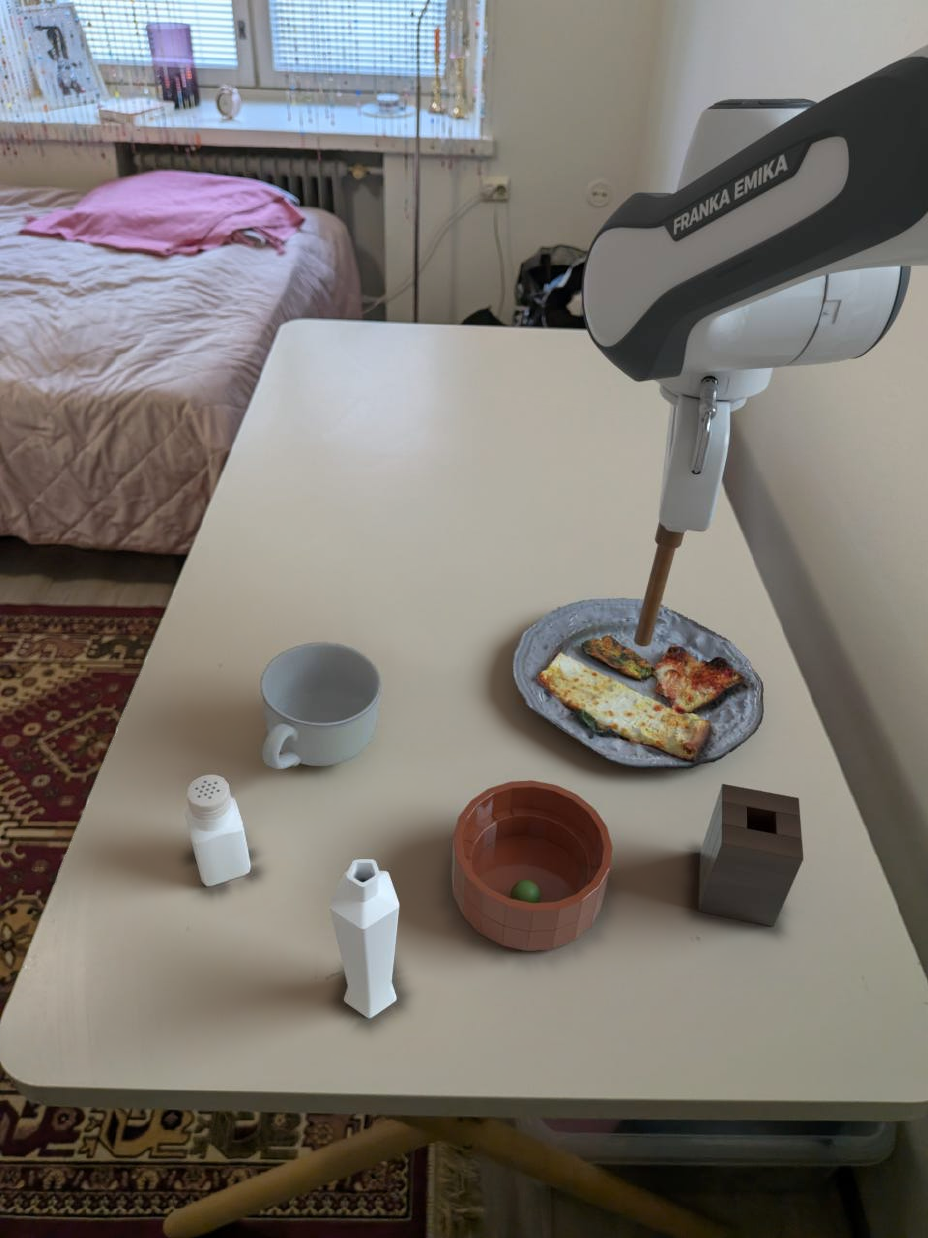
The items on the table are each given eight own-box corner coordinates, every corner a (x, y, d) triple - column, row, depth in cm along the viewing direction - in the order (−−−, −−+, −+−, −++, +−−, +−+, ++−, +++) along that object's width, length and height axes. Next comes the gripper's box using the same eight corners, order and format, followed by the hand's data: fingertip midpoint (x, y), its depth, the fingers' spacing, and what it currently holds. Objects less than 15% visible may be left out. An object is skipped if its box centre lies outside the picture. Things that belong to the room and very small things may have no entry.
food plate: (799, 692, 96) (808, 667, 94) (679, 823, 82) (686, 797, 80) (602, 588, 108) (606, 564, 106) (469, 687, 95) (471, 661, 92)
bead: (546, 889, 73) (524, 910, 72) (547, 901, 75) (526, 922, 74) (524, 869, 74) (502, 889, 73) (526, 880, 76) (505, 901, 75)
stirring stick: (653, 651, 82) (700, 477, 71) (628, 646, 83) (672, 472, 71) (655, 636, 84) (701, 463, 73) (630, 631, 84) (673, 458, 73)
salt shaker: (194, 853, 78) (176, 778, 72) (241, 838, 79) (227, 764, 73) (204, 891, 75) (186, 817, 69) (253, 875, 76) (239, 800, 70)
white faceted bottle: (331, 974, 70) (318, 853, 60) (387, 957, 71) (383, 836, 62) (346, 1030, 67) (335, 912, 57) (405, 1011, 68) (403, 892, 58)
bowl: (593, 970, 71) (603, 926, 67) (436, 935, 73) (437, 891, 69) (609, 841, 80) (618, 796, 77) (469, 813, 82) (472, 768, 78)
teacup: (322, 685, 94) (317, 625, 89) (405, 733, 89) (405, 672, 84) (219, 767, 85) (206, 706, 80) (305, 825, 81) (298, 763, 75)
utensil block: (773, 927, 74) (803, 859, 69) (698, 911, 75) (721, 843, 70) (771, 866, 79) (799, 797, 73) (700, 852, 80) (722, 783, 74)
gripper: (760, 423, 57) (714, 598, 66) (753, 305, 73) (717, 459, 82) (658, 410, 58) (626, 584, 67) (673, 296, 74) (645, 449, 83)
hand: (676, 514), depth 75 cm, fingers closed on stirring stick, 2 cm apart
